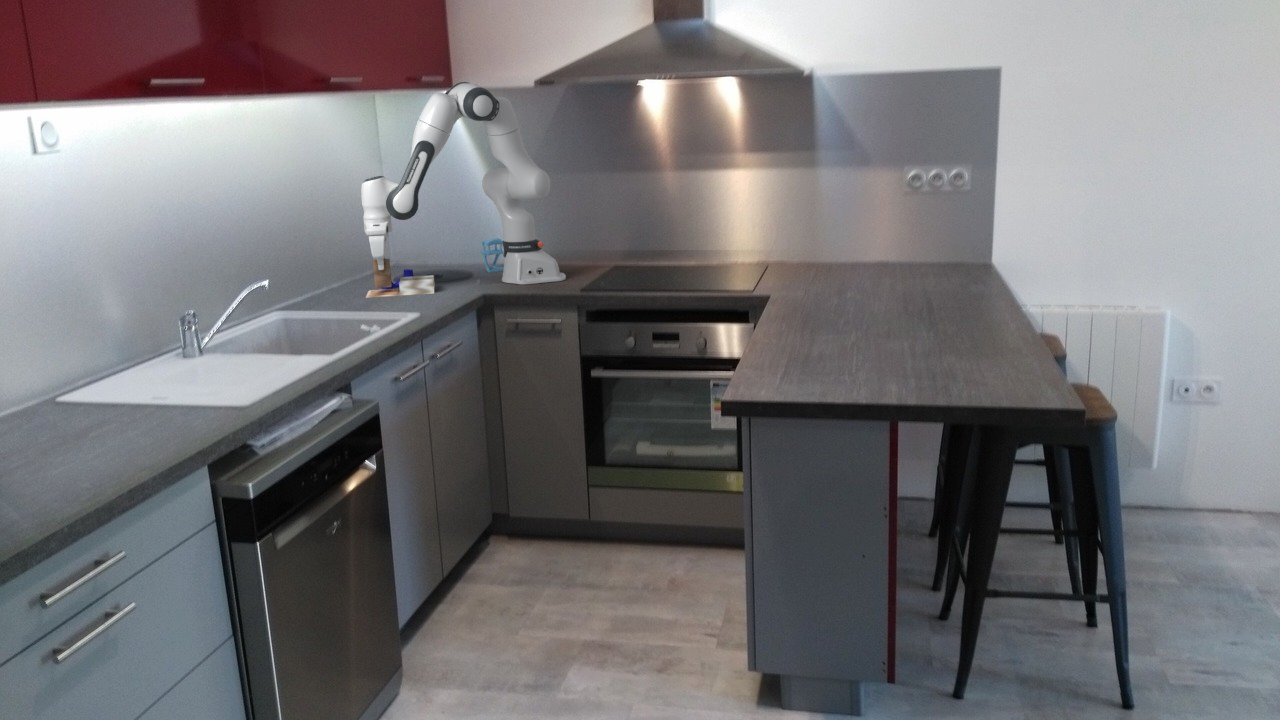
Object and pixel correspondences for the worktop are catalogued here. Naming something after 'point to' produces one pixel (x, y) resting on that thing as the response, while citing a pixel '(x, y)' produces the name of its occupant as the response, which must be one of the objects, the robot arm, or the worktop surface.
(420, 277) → the board
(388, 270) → the plug
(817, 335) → the worktop surface
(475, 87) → the robot arm
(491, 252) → the chair
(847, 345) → the worktop surface
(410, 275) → the cable clip
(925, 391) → the worktop surface
